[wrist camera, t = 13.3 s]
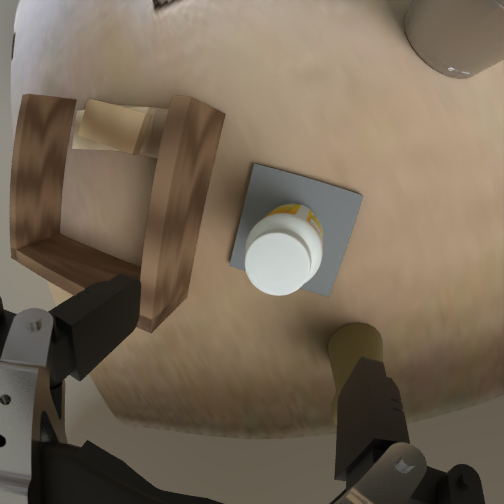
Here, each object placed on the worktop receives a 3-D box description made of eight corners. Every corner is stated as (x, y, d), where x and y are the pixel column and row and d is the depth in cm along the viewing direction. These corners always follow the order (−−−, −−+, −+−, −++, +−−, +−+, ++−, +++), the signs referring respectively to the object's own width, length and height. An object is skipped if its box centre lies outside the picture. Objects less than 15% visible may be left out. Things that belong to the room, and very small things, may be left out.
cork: (317, 340, 30) (310, 414, 20) (366, 312, 28) (383, 382, 18) (344, 376, 31) (345, 451, 20) (391, 352, 29) (410, 424, 18)
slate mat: (256, 163, 27) (254, 163, 26) (361, 194, 25) (363, 195, 24) (231, 263, 30) (229, 265, 29) (328, 293, 28) (328, 297, 28)
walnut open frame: (69, 100, 29) (22, 94, 21) (225, 114, 26) (190, 96, 18) (53, 241, 35) (11, 257, 28) (186, 297, 32) (151, 333, 25)
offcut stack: (94, 102, 28) (70, 98, 24) (178, 109, 27) (157, 102, 23) (85, 147, 30) (60, 148, 26) (166, 163, 28) (144, 164, 24)
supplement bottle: (333, 220, 26) (339, 248, 17) (305, 270, 27) (296, 320, 18) (279, 191, 26) (256, 205, 17) (253, 243, 28) (220, 281, 19)
